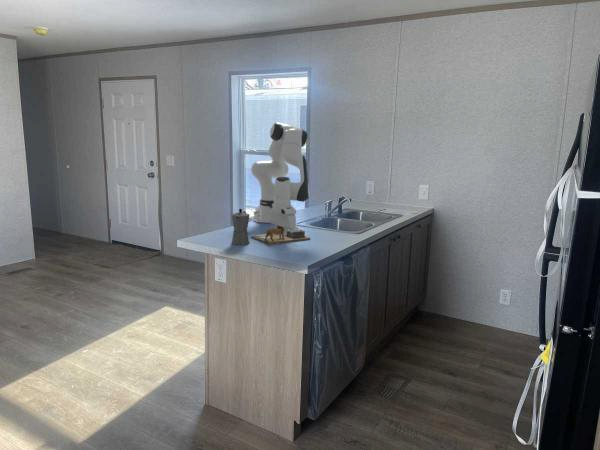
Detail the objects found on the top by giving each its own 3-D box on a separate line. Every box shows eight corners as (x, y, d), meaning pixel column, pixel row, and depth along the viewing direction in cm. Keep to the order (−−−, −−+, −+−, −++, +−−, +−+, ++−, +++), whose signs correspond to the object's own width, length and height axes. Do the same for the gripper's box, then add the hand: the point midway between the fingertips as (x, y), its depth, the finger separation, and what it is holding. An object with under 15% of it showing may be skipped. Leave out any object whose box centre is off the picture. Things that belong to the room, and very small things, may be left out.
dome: (285, 234, 245) (286, 224, 243) (295, 233, 248) (295, 223, 247) (292, 237, 239) (292, 226, 238) (301, 235, 243) (302, 225, 242)
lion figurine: (285, 237, 237) (285, 220, 235) (291, 239, 233) (291, 222, 231) (261, 240, 229) (261, 223, 227) (266, 243, 225) (266, 225, 223)
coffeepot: (245, 246, 221) (245, 211, 217) (227, 245, 222) (227, 210, 219) (253, 239, 236) (253, 206, 232) (236, 238, 237) (236, 205, 234)
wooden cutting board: (251, 237, 241) (251, 230, 240) (290, 232, 255) (290, 225, 254) (269, 245, 225) (269, 237, 225) (310, 239, 240) (310, 232, 239)
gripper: (266, 206, 235) (266, 231, 238) (287, 212, 219) (287, 239, 222) (276, 205, 239) (276, 230, 242) (298, 211, 223) (297, 237, 226)
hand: (281, 234), depth 232 cm, fingers closed on lion figurine, 4 cm apart
